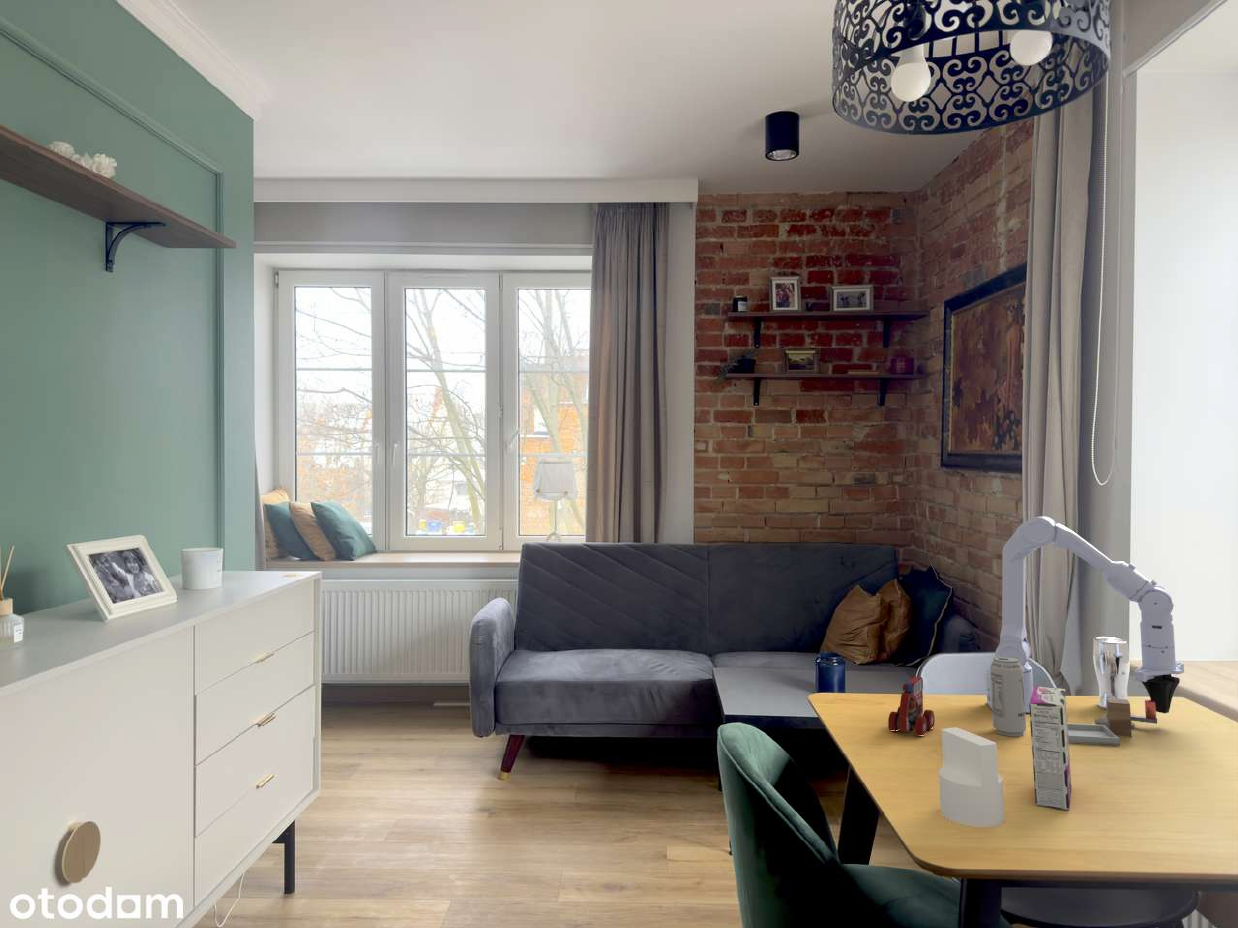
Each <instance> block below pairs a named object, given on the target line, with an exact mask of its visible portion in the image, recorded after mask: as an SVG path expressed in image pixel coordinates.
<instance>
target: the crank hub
mask: <svg viewBox="0 0 1238 928" xmlns="http://www.w3.org/2000/svg"><path fill="white" fill-rule="evenodd" d="M1094 722H1095V723H1096V725H1105V726H1106V727H1107V728H1108V719H1107V718H1106V717H1100V718H1099V717H1098V718H1096V719H1095V721H1094ZM1134 728H1136V724H1135V723H1134V721H1131V730H1132V729H1134Z"/></svg>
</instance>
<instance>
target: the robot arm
mask: <svg viewBox="0 0 1238 928" xmlns="http://www.w3.org/2000/svg"><path fill="white" fill-rule="evenodd" d="M1051 542H1054V543H1053V544H1052V547H1053V548H1060V549H1067V550H1068V551H1071V552H1072V553H1074V554H1075V556H1078V557H1079V558H1081V559H1082V560H1084V561H1085V562H1087V563H1088V564H1089V565H1091V566H1092V567H1094V568H1095V569H1096V570H1098V571H1099V572H1102V577H1103V579H1102V580H1103V582H1104V583H1106V584H1107V585H1108V586H1109V587H1110V588H1113V589H1114V590H1116V592H1118V593H1119V594H1121V595H1122V596H1123V597H1124V598H1126V599H1127V600H1128V601H1130V602H1135V603H1137V605H1138V608H1139V610H1140V613H1141V615H1140V616H1141V621H1140V623H1139V626H1140V628H1139V629H1140V644H1141V645H1140V647H1141V662H1142V664H1141V666H1139V667H1138V668H1137V669H1136V670H1133V680H1134V681H1138V682H1141V684H1142V685H1143V686H1144V688H1145V689H1146V692H1147V694H1148V696H1149V700H1153V701H1155V703H1156V713H1162V714H1167V713H1169V712H1170V709H1171V704H1172V700H1173V696H1174V693H1175V691H1176V689H1177V688H1178V686H1179V684H1180V682H1181V681H1180V678H1179V677H1177V676H1172V675H1182V674H1184V673H1185V665H1184V663H1182V662H1176V647H1175V646H1176V644H1175V629H1174V623H1173V620H1174V619H1173V615H1172V612H1173V609H1174V606H1175V605H1174V603H1173V598H1172V596H1171V595H1170V593H1169V592H1168V591H1167V590H1165V588H1164V587H1162V586H1159V585H1157V584H1158V582H1157V581H1155V580H1154V579H1152V580H1150V579H1149V578H1147V577H1146V576H1144V574H1141V573H1140V572H1139V571H1137V570H1136V565H1134V564H1133V563H1131V562H1130V563H1126V562H1125V561H1120V560H1119V561H1113V560H1111V559H1110V558H1109V557H1108V556H1106V555H1105V554H1104V553H1102V552H1101V551H1099V550H1098V549H1097V548H1096V547H1094V545H1092V544H1091V543H1089V542H1088V541H1087V540H1086V539H1084V538H1083V537H1081V535H1079V534H1078V533H1076V532H1075V531H1073V530H1072V529H1071V528H1068V527H1067V526H1065V525H1063V524H1061V523H1057V522H1056V521H1055V520H1054V519H1053V518H1052V517H1049V516H1046V515H1039V516H1036V517H1032V518H1030V519H1028V520H1026V521H1025V522H1023V523H1022V524H1021V525H1019V526H1018V527H1017V528H1016V529H1015V531H1014V533H1013V534H1012V535H1011V537H1010V538H1009V539H1008V540H1007V541H1006V543H1005V544H1004V545H1003V548H1002V557H1001V559H1002V569H1001V570H1002V572H1001V573H1002V576H1001V577H1002V579H1001V580H1002V581H1001V582H1002V584H1001V585H1002V586H1001V587H1002V588H1001V595H1002V596H1001V600H1002V604H1001V605H1002V607H1001V611H1002V612H1001V616H1002V617H1001V630H1000V634H999V644H998V646H997V647H996V648H995V649H996V650H995V655H994V656H995V657H999V656H1006V657H1014V658H1018V659H1019V662H1020V664H1021V666H1022V667H1023V677H1024V697H1025V714H1030V708H1029V701H1030V699H1031V695H1032V692H1033V688H1034V681H1033V680H1034V677H1033V667H1032V666H1031V665H1030V663H1029V662H1028V660H1029V659H1031V655H1032V648H1031V645H1030V643H1029V641H1028V633H1027V628H1026V627H1027V626H1026V608H1027V607H1026V600H1027V599H1026V585H1027V584H1026V581H1027V580H1026V579H1027V578H1026V574H1027V572H1026V570H1027V569H1026V568H1027V567H1026V566H1027V563H1026V561H1027V557H1028V556H1029V555H1030V554H1031V553H1033V552H1035V551H1036V550H1037V549H1040V548H1042V547H1044V546H1047V545H1049V544H1051ZM985 680H986V681H985V682H986V685H985V686H986V703H987V705H988V706H989V708H990V709H991V710H992V690H991V669H990V668H989V667H988V668H986V672H985Z"/></svg>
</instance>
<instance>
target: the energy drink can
mask: <svg viewBox="0 0 1238 928" xmlns="http://www.w3.org/2000/svg"><path fill="white" fill-rule="evenodd" d="M989 666H990V669H991V690H992V709H991V711H992V726H993V729H995V732H996V733H997V734H999V735H1000V736H1001V735H1002V736H1007V737H1023V735H1024V732H1026V731H1027V723H1026V722H1027V720H1026V719H1027V717H1026V713H1025V697H1024V677H1023V667H1022V666H1021V664H1020V662H1019V659H1018V658H1014V657H1006V656H999V657H993V658H992V662H991V664H990V665H989Z"/></svg>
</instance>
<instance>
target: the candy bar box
mask: <svg viewBox="0 0 1238 928" xmlns="http://www.w3.org/2000/svg"><path fill="white" fill-rule="evenodd" d="M1066 699H1067V698H1066V688H1057V687H1047V686H1045V687H1044V686H1033V692H1032V695H1031V699H1030V701H1029V708H1030V713H1029V720H1030V721H1029V725H1030V737H1031V752H1032V766H1033V782H1034V800H1035V801H1034V802H1035V806H1038V807H1043V808H1047V809H1048V808H1049V809H1054V810H1055V809H1056V810H1061V811H1062V810H1063V811H1070V806H1071V805H1070V804H1071V796H1072V777H1071V763H1070V762H1071V761H1070V745H1069V744H1070V743H1069V742H1068V728H1067V723H1068V717H1067V715H1068V714H1067V700H1066Z"/></svg>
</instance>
